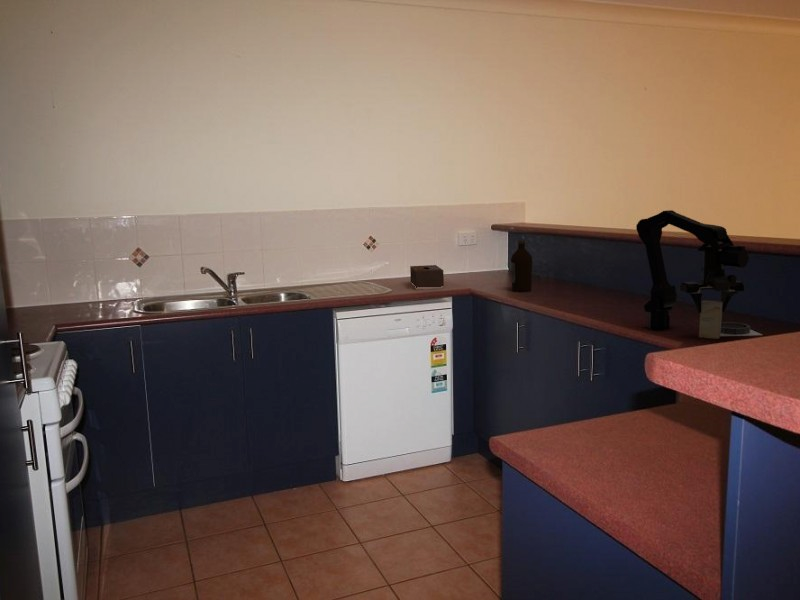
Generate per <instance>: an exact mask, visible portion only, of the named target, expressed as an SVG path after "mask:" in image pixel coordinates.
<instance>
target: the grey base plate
mask: <svg viewBox="0 0 800 600" xmlns="http://www.w3.org/2000/svg"><path fill="white" fill-rule="evenodd" d="M741 336H742V337H747V336H763V334H762V333H760V332H757V331H755V330H753V329H750V333H748V334H741V335H733V334H723V333H721V335H720V337H741Z"/></svg>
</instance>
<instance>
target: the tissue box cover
mask: <svg viewBox="0 0 800 600" xmlns="http://www.w3.org/2000/svg"><path fill="white" fill-rule="evenodd" d="M409 268H410V270H409V272H410V273H409V274H410V283H411V282H412V283H413V284H414V285H415V286H416V288H417V287H441V286H444V287H445V281H444V280H445V279H444V277H445V276H444V269H442V268H441V267H439V266H438V265H436V264H433V265H432V264H431V265H428V264H427V265H410V267H409Z"/></svg>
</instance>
